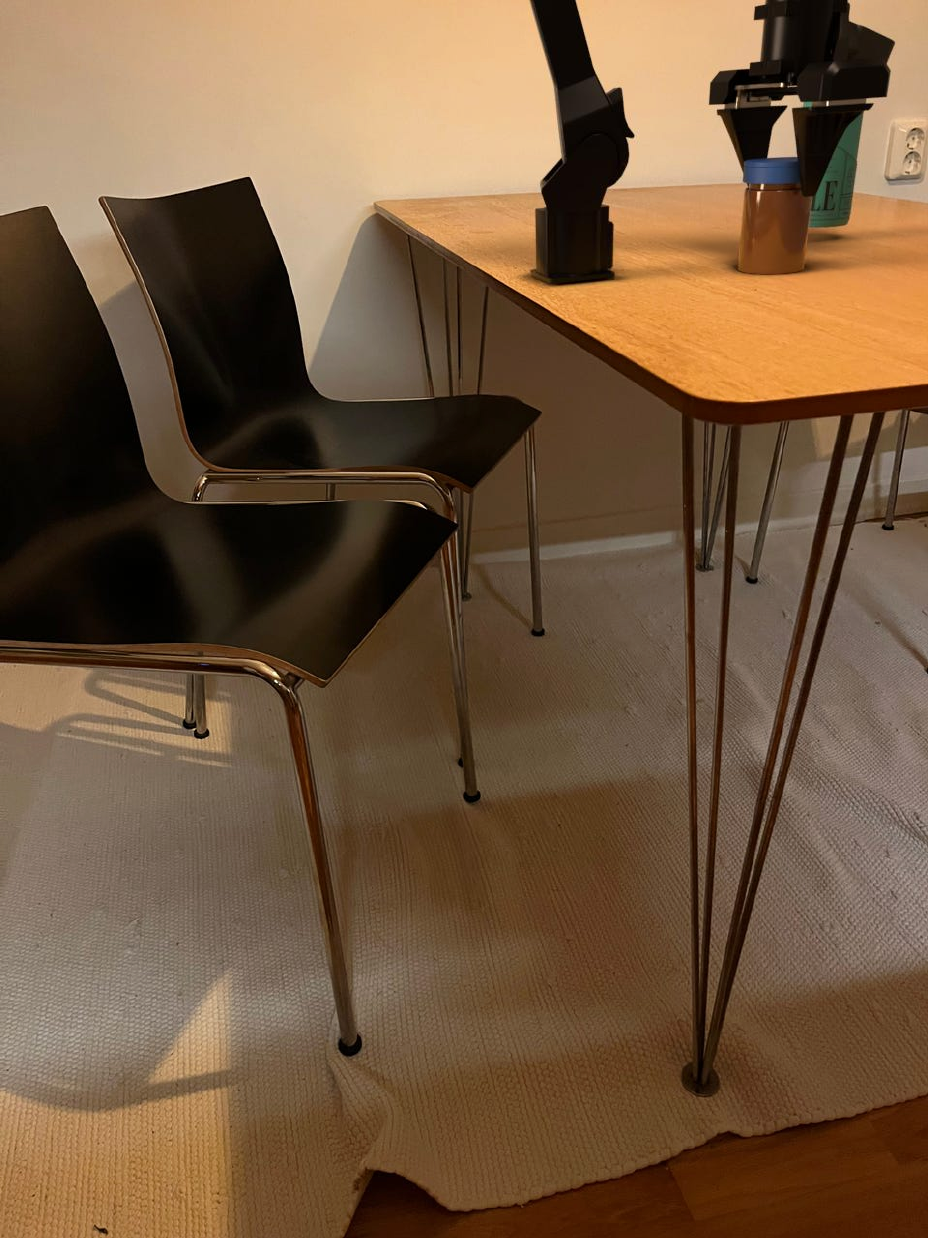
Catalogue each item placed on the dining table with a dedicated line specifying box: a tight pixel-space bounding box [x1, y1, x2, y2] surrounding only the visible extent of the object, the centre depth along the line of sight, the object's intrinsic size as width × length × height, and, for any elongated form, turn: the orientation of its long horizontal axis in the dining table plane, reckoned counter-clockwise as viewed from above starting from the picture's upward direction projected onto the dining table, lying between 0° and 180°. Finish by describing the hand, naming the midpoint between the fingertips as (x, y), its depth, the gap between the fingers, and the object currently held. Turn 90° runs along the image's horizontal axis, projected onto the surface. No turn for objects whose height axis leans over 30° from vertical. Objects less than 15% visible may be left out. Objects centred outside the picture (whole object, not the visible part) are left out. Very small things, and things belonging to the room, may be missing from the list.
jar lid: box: [742, 156, 800, 184], centre depth 83 cm, size 6×6×2 cm
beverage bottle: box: [795, 102, 865, 229], centre depth 97 cm, size 6×7×20 cm
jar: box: [737, 183, 813, 275], centre depth 85 cm, size 6×6×8 cm
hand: (780, 193), depth 84 cm, fingers open, 8 cm apart
